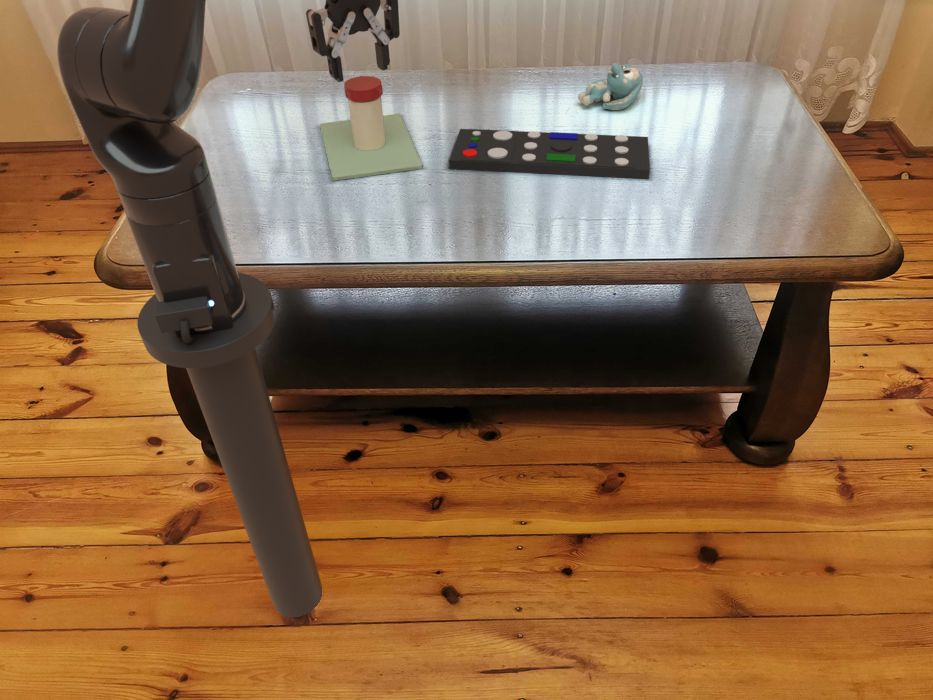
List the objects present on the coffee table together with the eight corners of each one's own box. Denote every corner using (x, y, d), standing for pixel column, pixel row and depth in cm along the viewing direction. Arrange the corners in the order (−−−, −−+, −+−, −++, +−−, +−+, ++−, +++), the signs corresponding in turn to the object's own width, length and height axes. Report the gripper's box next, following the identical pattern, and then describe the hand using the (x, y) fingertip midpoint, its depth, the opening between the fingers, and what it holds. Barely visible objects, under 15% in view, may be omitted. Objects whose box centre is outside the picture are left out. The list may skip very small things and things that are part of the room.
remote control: (460, 137, 124) (460, 125, 123) (646, 145, 120) (648, 133, 119) (449, 168, 116) (448, 157, 115) (648, 179, 112) (650, 166, 111)
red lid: (385, 99, 115) (384, 87, 114) (348, 103, 114) (346, 92, 113) (379, 85, 119) (378, 74, 118) (343, 89, 118) (341, 78, 117)
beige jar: (388, 148, 120) (382, 90, 114) (356, 152, 119) (348, 94, 113) (383, 134, 124) (377, 78, 118) (351, 138, 123) (344, 81, 117)
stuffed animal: (563, 67, 132) (623, 43, 133) (568, 104, 137) (625, 81, 138) (594, 89, 124) (656, 63, 126) (597, 127, 129) (657, 102, 131)
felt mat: (423, 168, 116) (422, 165, 116) (332, 181, 114) (332, 177, 113) (400, 116, 131) (399, 113, 130) (320, 126, 128) (319, 123, 128)
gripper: (310, -29, 98) (329, 93, 109) (405, -48, 104) (413, 70, 115) (287, -41, 103) (307, 78, 114) (378, -58, 109) (389, 56, 120)
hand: (361, 74), depth 115 cm, fingers open, 7 cm apart
